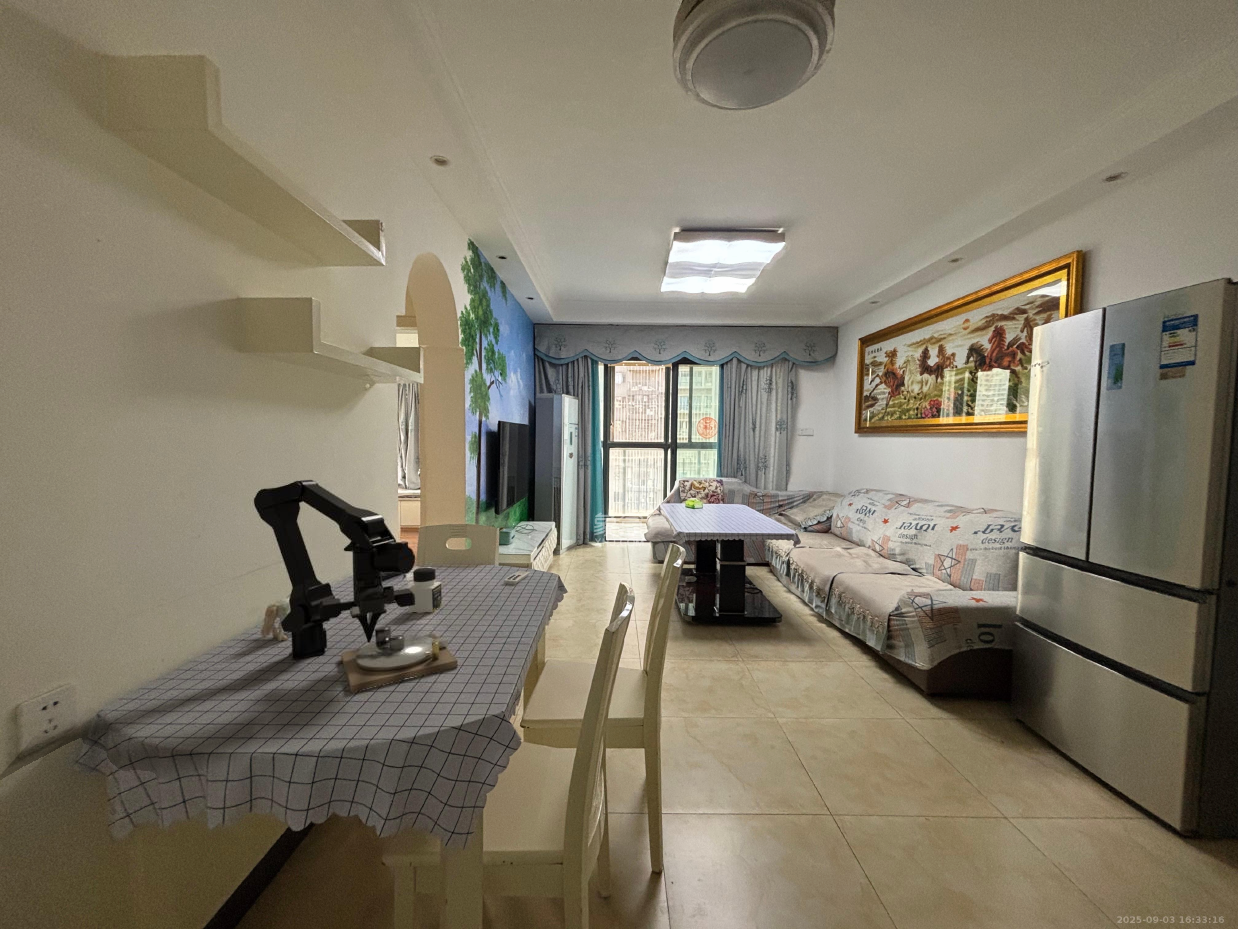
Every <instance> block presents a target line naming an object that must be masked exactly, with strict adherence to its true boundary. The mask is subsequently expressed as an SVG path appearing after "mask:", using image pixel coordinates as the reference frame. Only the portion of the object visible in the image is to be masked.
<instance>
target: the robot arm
mask: <svg viewBox="0 0 1238 929" xmlns="http://www.w3.org/2000/svg"><path fill="white" fill-rule="evenodd" d="M300 503H305V504H307V505H308V506H309V507H311V508H313V509H314V510H315V511H317V512H319V513H320V514H322V515H324V516H325V517H327V518H328V519H330V520H332V521H333V522H334V523H336V525H338V527H339V531H340V533H341V534H343V535H344V536H345V537H346V538H347V539H348V540H350V542H349V543H348V544H347V545H345V547H344V548H343V551H344V552H352V586H353V587H352V590H353V592H352V593H353V600H348V601H341V599H340V597H337V598H336V596H335V595H334V593H333V591H332V586H331V584H330V582H325V583H323V582H322V581H320V580H319V579H318V578H317V574H316V572H315V570H314V566H313V563H312V561H311V557H310V554H309V552H308V549H307V546H306V544H305V540H304V538H303V534H302V531H301V529H300V526H299V522H298V518H299V514H300V512H301V505H300ZM253 504H254V507H255V510H256V511H257V514H258V515H259V518H260V519H261V520H262V521H263V522H264V523H266V524H267V525H268V526H269V527H271V529H272V531H273V534H274V536H275V539H276V542H277V547H278V548H279V552H280V555H281V557H282V559H283V563H284V566H285V569H286V572H287V574H288V578H289V580H290V583H291V587H292V589H291V592H290V594H291V595H290V594H289V595H290V599H289V604H290V609H291V611H290V612H289V613H288V615H287V616H286V617H285V618H284V619H283V621H282V622H281V626H282V632H285V633H290V634H291V650H290V651H291V660H298V659H304V658H308V657H313V656H318V655H322V654H326V649H327V648H328V641H327V640H328V639H327V638H328V637H327V629H326V627H324V624H323V623H326V622H329V621H331V619H334V618H338V617H340V615H341V614H342V613H343V612H345V611H346V612H347V611H349V614H350V617H351V619H357V620H358V622H359V624H360V625H361V628H362V630H363V632H364V635H365V638H366V641H367V642H368V643H371V640H372V637H373V635H374V633H375V629H376V625H377V623H378V621H379V619H380V618H381V616H382V615H384V614H387V612H388V611H387V609H386V608H387V605H390V604H391V605H392V604H396V605H397V606H398V607H399V608H407V607H409V606H413V605H415V595H414V593H413V592H412V591H411V590H410V589H409V588H402V589H395V588H394V585H387V586H383V578H382V577H383V576H382V574H385V573H387V574H402V575H407V574H409V573H410V572H411V571H412V570H413V568H414V566H415V563H416V555H415V554H414V553H415V552H414V550H413V549H412V548H411V547H409V542H408V541H403V540H402V541H399V542H398V541H397V540H396V538H395V536H394V535H393V534H392V532H391V530H390V529H389V527H388V526H387V525H386V524H387V523H385V519H384V517H383V515H381V514H380V513H377V512H374V511H372V510H368V509H365V508H359V507H356V506H353V505H351V504H350V503H348V502H347V501H345V500H344V499H342V498H340V497H339V496H337V495H335V494H334V493H332V492H331V491H329V490H327V489H326V488H324V487H322V486H321V485H319V483H318V482H317V481H315V480H313V479H304V480H295V481H293V482H291V483H288V484H286V485H281V486H278V487H277V486H276V487H268V488H267V487H265V488H260V490H258V491H257V493H256V494H255V497H254V498H253Z"/></svg>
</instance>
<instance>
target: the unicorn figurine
mask: <svg viewBox="0 0 1238 929" xmlns="http://www.w3.org/2000/svg"><path fill="white" fill-rule="evenodd" d="M290 595H291V593H290V594H288V596H286V598H283V599H282V598H281V599H278V600H276V601H275V602H273V603H270V604H269V605H268V606H267V607H266V609H265V613H264V618H263V622H264V623H263V625H262V626H261V627H262V628H261V631H260V634H261V637H262V639H263V640H265V639H266V637H267V636H269V635H270V633H272V637H273V638H276V639H278V641H283V642H284V641H287V640H288V637H287V636H286V635H284V633H283V632H284V631H283V629H282V626H281V622H282V621H283V619H284V618H285V617H286V616H287V615H288V613H289V612H290V611H291V609H290V604H289V599H290ZM278 618H279V624H278V627H277V626H276V625H275V622H276V620H277V619H278Z"/></svg>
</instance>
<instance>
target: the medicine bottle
mask: <svg viewBox="0 0 1238 929" xmlns="http://www.w3.org/2000/svg"><path fill="white" fill-rule="evenodd" d="M412 575H413V576H412V577H413V585H412V586H410V587H408V589H410V590H411V591H412V592H413V593H414V595H415V605H413V606H408V613H409V612H433V613H435V612H436V611H437V610H438V609H439V608H441V607H442V606H443V601H442V600H443V598H442V597H443V596H442V582H441V581H437V579H436V575H437V574H436V569H435V568H434V567H431V566H423V567H418V568H416V569H414V570H413V571H412ZM441 605H442V606H441ZM437 608H438V609H437ZM436 609H437V610H436ZM435 610H436V611H435ZM434 611H435V612H434Z"/></svg>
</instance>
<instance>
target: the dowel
mask: <svg viewBox="0 0 1238 929" xmlns="http://www.w3.org/2000/svg"><path fill="white" fill-rule="evenodd" d="M438 659H439V642H432V660H438Z"/></svg>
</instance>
